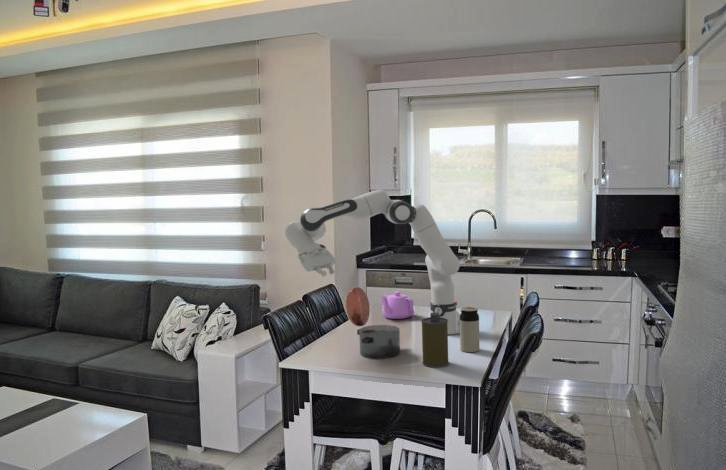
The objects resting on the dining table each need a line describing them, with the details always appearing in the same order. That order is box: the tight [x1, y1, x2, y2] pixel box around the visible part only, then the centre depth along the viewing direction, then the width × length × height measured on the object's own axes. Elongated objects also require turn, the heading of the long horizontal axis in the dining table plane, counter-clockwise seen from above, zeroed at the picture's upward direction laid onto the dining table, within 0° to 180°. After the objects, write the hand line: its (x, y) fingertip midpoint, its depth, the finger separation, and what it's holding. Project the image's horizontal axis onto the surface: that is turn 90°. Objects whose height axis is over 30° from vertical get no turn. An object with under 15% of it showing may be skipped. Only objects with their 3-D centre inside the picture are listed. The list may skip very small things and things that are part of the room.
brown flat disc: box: [345, 286, 370, 327], centre depth 240 cm, size 17×17×3 cm
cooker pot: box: [356, 324, 401, 360], centre depth 235 cm, size 25×18×10 cm
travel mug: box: [459, 305, 480, 353], centre depth 235 cm, size 8×8×18 cm
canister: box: [420, 313, 450, 369], centre depth 218 cm, size 11×10×20 cm
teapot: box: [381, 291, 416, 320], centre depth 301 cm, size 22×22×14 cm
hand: (329, 274), depth 245 cm, fingers open, 5 cm apart
